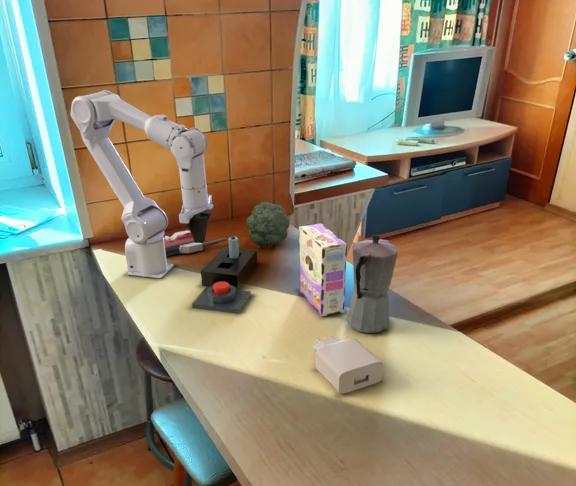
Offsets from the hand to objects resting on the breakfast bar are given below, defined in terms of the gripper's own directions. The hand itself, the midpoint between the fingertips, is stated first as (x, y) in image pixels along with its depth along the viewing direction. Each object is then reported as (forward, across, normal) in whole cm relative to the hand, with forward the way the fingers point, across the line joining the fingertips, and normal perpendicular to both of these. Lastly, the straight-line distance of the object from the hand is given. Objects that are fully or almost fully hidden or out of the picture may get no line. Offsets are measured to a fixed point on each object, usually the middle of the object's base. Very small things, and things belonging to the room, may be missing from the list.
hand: (199, 241), depth 140 cm
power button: (+8, -9, -8) cm, 15 cm away
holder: (+10, +5, -5) cm, 13 cm away
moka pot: (+11, -11, -42) cm, 45 cm away
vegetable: (+11, +27, -7) cm, 30 cm away
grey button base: (+10, -9, -8) cm, 16 cm away
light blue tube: (+10, +8, -5) cm, 14 cm away
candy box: (+11, -3, -30) cm, 32 cm away
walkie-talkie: (+10, +18, +12) cm, 24 cm away
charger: (+11, -28, -39) cm, 50 cm away
